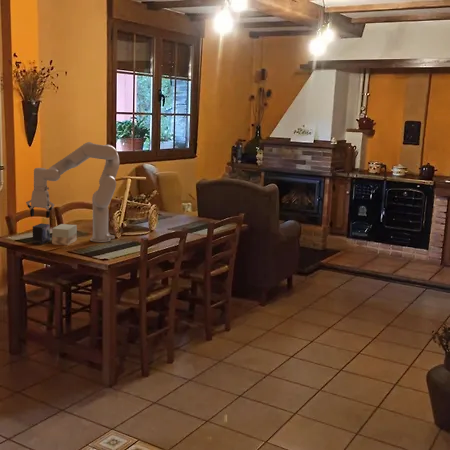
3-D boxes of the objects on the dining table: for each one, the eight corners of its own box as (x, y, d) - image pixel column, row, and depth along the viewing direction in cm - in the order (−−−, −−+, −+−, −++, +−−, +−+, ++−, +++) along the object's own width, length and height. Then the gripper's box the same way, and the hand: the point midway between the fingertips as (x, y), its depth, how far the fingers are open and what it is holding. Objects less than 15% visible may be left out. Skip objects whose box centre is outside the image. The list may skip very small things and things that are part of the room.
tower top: (76, 232, 368) (76, 225, 367) (68, 237, 355) (68, 229, 354) (61, 231, 369) (61, 223, 368) (52, 236, 356) (52, 228, 355)
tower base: (76, 240, 369) (76, 232, 368) (68, 246, 356) (68, 237, 355) (61, 239, 370) (61, 231, 369) (52, 244, 357) (51, 236, 356)
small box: (42, 244, 355) (41, 227, 353) (32, 243, 356) (31, 226, 354) (50, 240, 365) (50, 224, 363) (40, 239, 366) (40, 223, 364)
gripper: (56, 189, 356) (56, 216, 360) (29, 186, 358) (29, 214, 362) (51, 190, 349) (51, 219, 353) (23, 188, 351) (23, 216, 354)
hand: (40, 216), depth 357 cm, fingers open, 9 cm apart
